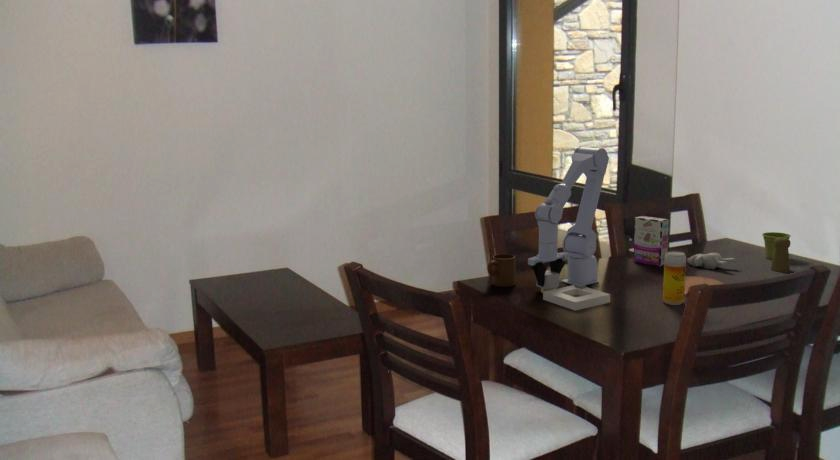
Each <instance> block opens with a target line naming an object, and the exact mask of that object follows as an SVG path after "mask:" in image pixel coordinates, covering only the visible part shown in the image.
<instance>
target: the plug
mask: <svg viewBox="0 0 840 460" xmlns="http://www.w3.org/2000/svg"><path fill="white" fill-rule="evenodd" d="M535 283H536V284H535V286H536V287H538V288H540V293H542V294H543V292H544V291H549V290H553V289H558V288H560V275H559V273H556V272H553V271H551V270H550V269H549V270H547V269H546V272H545V280H544V286H543V287H542V286H539V285H538V283H537V279H536V280H535Z"/></svg>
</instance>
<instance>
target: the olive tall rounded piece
mask: <svg viewBox="0 0 840 460" xmlns="http://www.w3.org/2000/svg"><path fill="white" fill-rule="evenodd" d="M774 246H775V250H774V255H773V259H771V260H772V261H771V265H770V270H771V271H772V272H779V273H788V272H790V270H791V268H790V257H789V256H790V253H789V248H790V246H791V240H790V238H789V239H787V238H776V239H775V240H774Z"/></svg>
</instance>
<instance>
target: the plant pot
mask: <svg viewBox="0 0 840 460" xmlns="http://www.w3.org/2000/svg"><path fill="white" fill-rule="evenodd" d="M761 236H762V237H763V240H764V241H763V242H764V248H765V249H764V251H765V252H764V253H765V258H766V259H767V260H772V259H773V255H774V250H775V246H774V240H775V239H776V238H787V239H789V240H790V238H791V236H792V235H791V234H788V233H784V232H778V231H777V232H769V231H768V232H763V233H762V235H761Z"/></svg>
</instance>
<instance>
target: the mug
mask: <svg viewBox="0 0 840 460" xmlns="http://www.w3.org/2000/svg"><path fill="white" fill-rule="evenodd" d="M516 268H517V262H516V256H515V255H513V254H510V253H499V254H493V255H492V260H491V261H489V262H488V264H487V268H486V269H487V273H488V274H489V276H491V277H492V279H491V280H492V284H493V286H495V287H499V288H510V287H513V286H515V285H516V279H517V276H516V275H517V269H516Z"/></svg>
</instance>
